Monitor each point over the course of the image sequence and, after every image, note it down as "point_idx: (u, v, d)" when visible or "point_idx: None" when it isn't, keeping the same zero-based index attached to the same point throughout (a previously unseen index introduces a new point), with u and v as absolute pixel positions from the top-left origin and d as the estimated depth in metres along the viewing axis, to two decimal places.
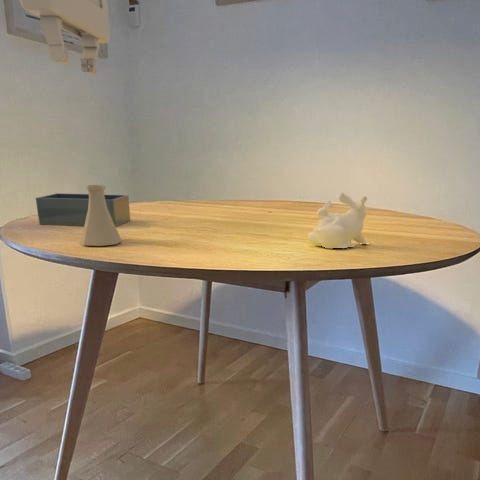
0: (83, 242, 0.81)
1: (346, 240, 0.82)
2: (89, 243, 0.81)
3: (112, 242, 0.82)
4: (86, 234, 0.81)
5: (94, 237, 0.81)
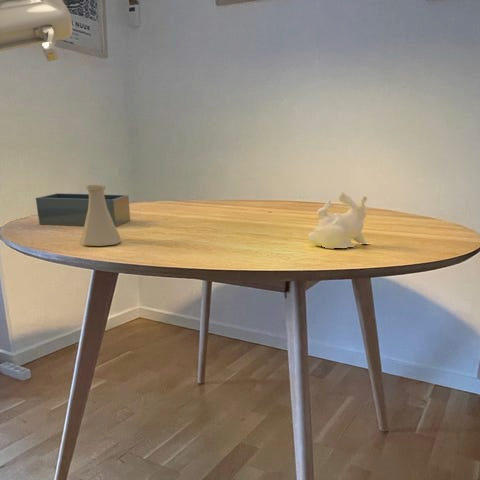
0: (83, 242, 0.81)
1: (346, 240, 0.82)
2: (89, 243, 0.81)
3: (112, 242, 0.82)
4: (86, 234, 0.81)
5: (94, 237, 0.81)
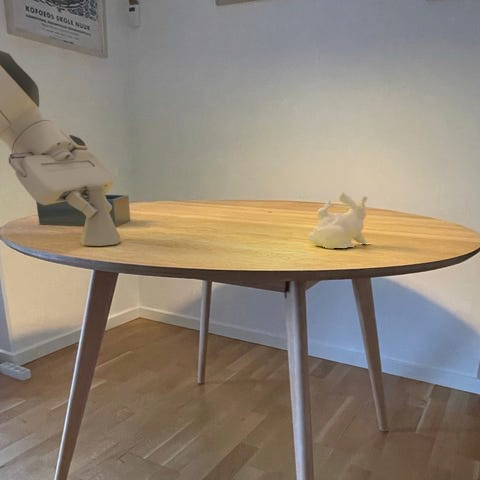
0: (83, 242, 0.81)
1: (346, 240, 0.82)
2: (89, 243, 0.81)
3: (112, 242, 0.82)
4: (86, 234, 0.81)
5: (94, 237, 0.81)
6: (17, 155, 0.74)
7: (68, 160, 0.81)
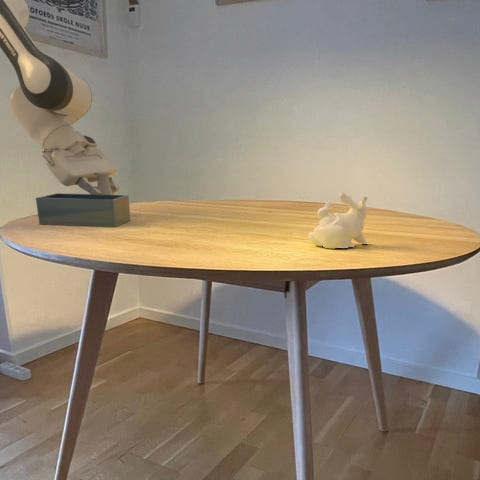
0: None
1: (346, 240, 0.82)
2: None
3: None
4: None
5: None
6: (47, 150, 1.03)
7: (82, 154, 1.10)
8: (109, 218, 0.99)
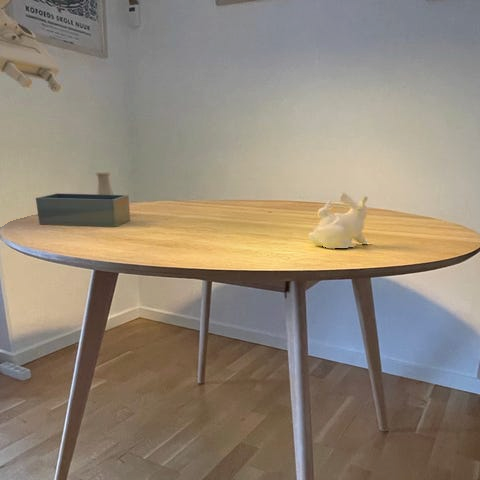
0: None
1: (346, 240, 0.82)
2: None
3: None
4: None
5: None
6: None
7: (15, 41, 0.97)
8: (109, 218, 0.99)
